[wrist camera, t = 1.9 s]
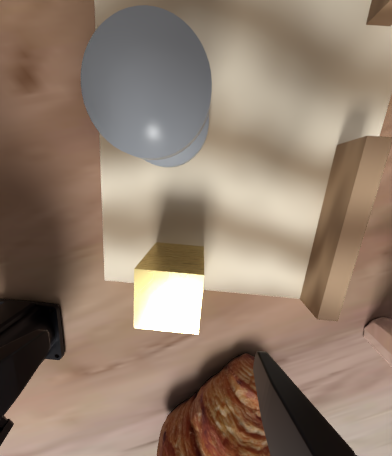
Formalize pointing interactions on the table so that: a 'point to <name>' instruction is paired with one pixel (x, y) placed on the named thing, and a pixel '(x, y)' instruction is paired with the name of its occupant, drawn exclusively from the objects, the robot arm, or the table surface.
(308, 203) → the board
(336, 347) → the table surface
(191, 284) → the tab
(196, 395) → the pastry
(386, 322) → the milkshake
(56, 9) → the table surface
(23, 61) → the table surface
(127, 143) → the grey rounded knob
